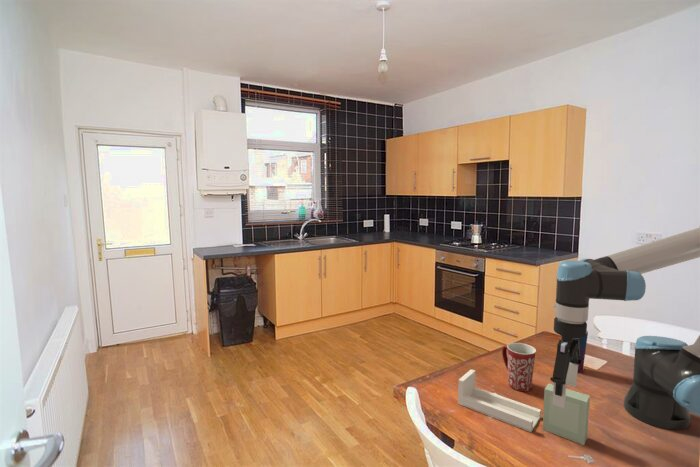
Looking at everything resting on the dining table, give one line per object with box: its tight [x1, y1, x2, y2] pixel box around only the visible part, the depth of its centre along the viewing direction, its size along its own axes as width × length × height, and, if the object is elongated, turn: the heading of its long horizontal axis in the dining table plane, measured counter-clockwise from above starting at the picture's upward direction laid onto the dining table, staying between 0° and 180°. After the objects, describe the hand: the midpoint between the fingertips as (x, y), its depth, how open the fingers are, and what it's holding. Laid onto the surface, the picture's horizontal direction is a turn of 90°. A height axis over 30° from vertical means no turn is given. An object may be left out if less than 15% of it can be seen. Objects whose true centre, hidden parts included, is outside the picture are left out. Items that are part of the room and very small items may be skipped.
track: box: [457, 369, 542, 433], centre depth 113 cm, size 22×9×8 cm, turn 48°
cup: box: [576, 330, 589, 374], centre depth 138 cm, size 7×7×15 cm
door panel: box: [542, 382, 591, 446], centre depth 102 cm, size 10×4×12 cm, turn 48°
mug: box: [501, 342, 537, 392], centre depth 129 cm, size 13×9×14 cm
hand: (564, 395), depth 102 cm, fingers open, 13 cm apart
